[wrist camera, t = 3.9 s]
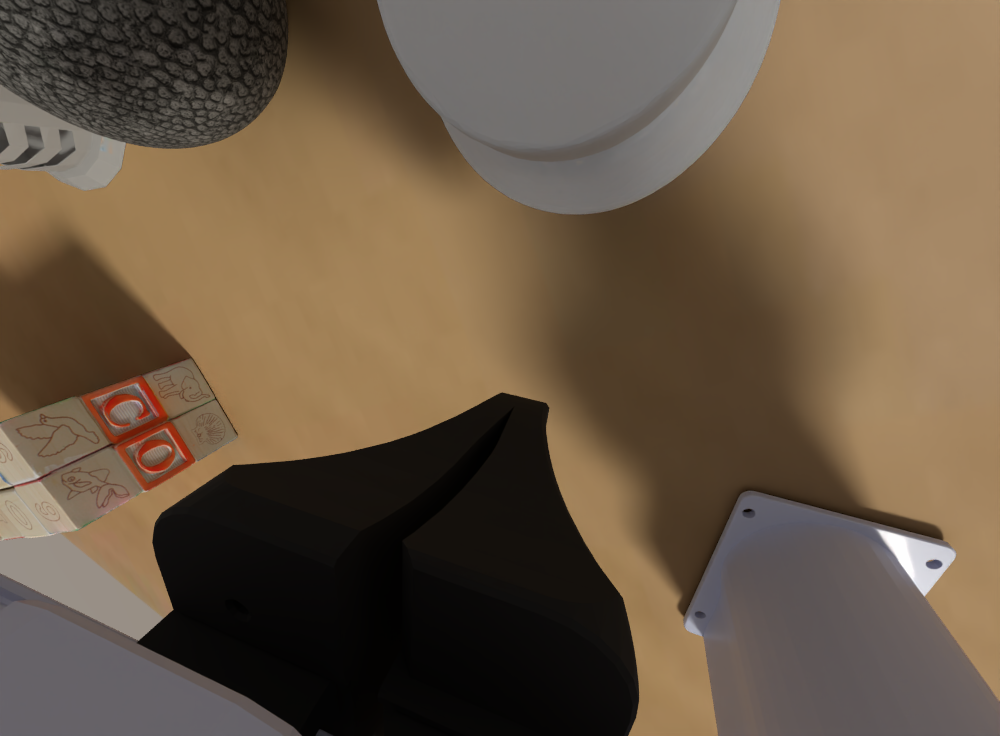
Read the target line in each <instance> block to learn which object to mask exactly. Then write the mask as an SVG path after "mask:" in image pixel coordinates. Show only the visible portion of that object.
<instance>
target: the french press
mask: <svg viewBox="0 0 1000 736" xmlns="http://www.w3.org/2000/svg"><path fill="white" fill-rule="evenodd" d="M125 145H126V143H125V142H120V141H117V140H113V139H110V138H107V137H103V136H100V135H97V134H95V133H92V132H89V131H87V130H84V129H82V128H79V127H77V126H75V125H72V124H70V123H68V122H65V121H63V120H61V119H59V118H57V117H55V116H53V115H51V114H49V113H47V112H45V111H44V110H42V109H40V108H38V107H36V106H34V105H32V104H31V103H29V102H27V101H25V100H24V99H22V98H20V97H19V96H17V95H16V94H14V93H12V92H11V91H9V90H8V89H6V88H5V87H3V86H2V85H0V164H2V165H6V166H0V169H7V170H8V169H21V170H31V171H46V172H48V173H49V174H51V175H52V176H53V177H55V178H56V179H57V180H59V181H61V182H63V183H66V184H68V185H71V186H73V187H76V188H78V189H81V190H83V191H86V190H92V189H97V188H102V187H106V186H107V185H108V184H109V182H110V181H111V180H112V179H113V178H114V176H115V175H116V174H117V173H118V172H119V170H120V169H121V166H122V161H123V156H124V150H125Z"/></svg>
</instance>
